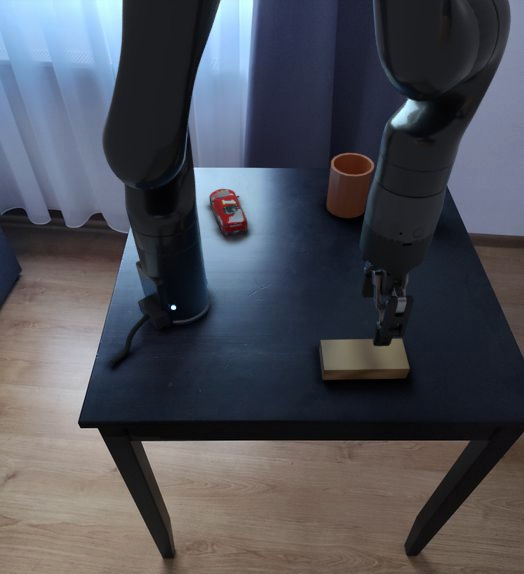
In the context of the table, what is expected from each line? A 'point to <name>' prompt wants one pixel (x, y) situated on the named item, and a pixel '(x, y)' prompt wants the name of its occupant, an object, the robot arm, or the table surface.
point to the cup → (349, 185)
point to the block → (362, 359)
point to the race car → (228, 211)
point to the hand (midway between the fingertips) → (374, 318)
